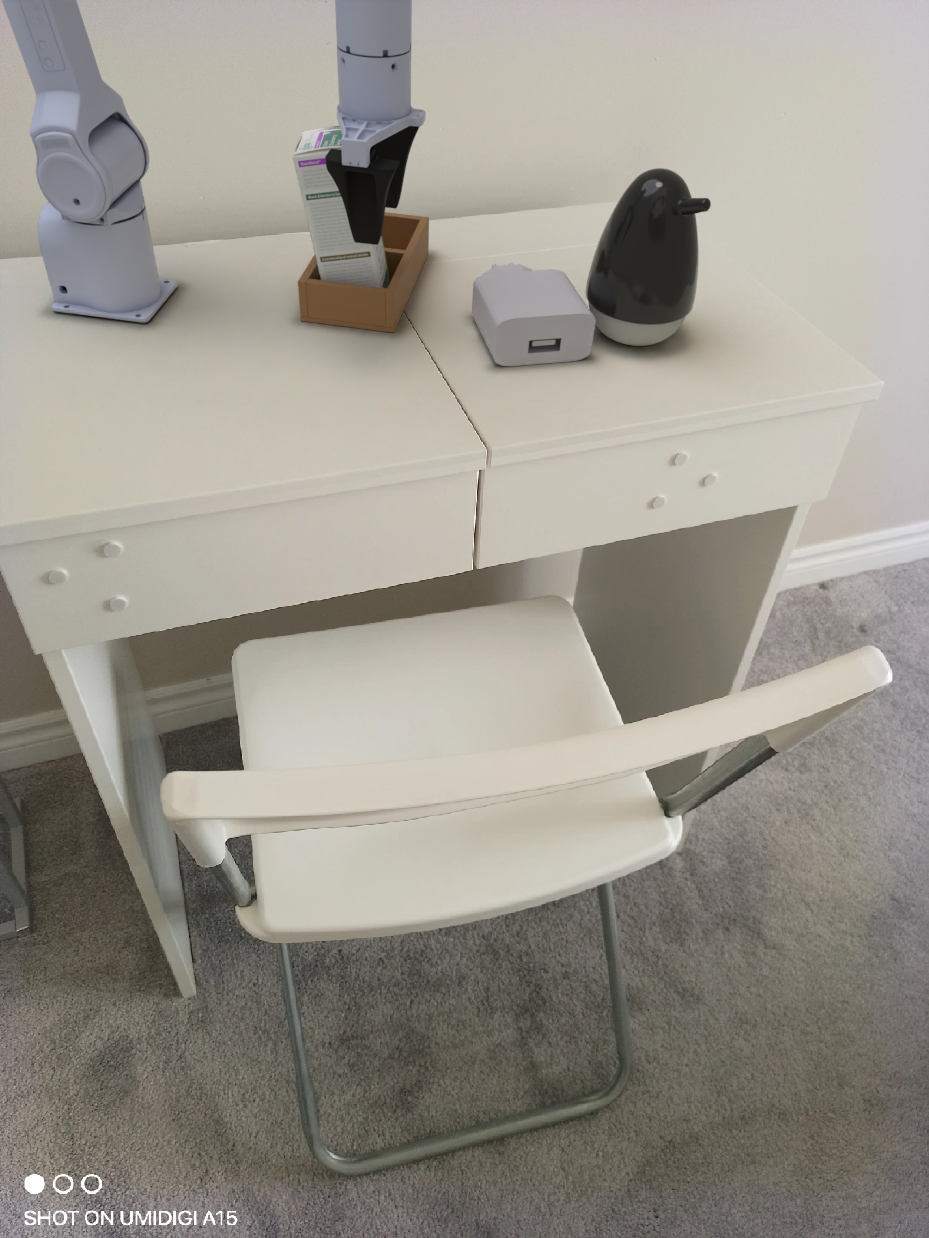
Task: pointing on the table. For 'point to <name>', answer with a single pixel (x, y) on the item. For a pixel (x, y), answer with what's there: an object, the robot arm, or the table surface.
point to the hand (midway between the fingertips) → (376, 223)
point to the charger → (531, 316)
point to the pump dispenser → (647, 261)
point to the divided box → (370, 303)
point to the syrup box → (333, 216)
